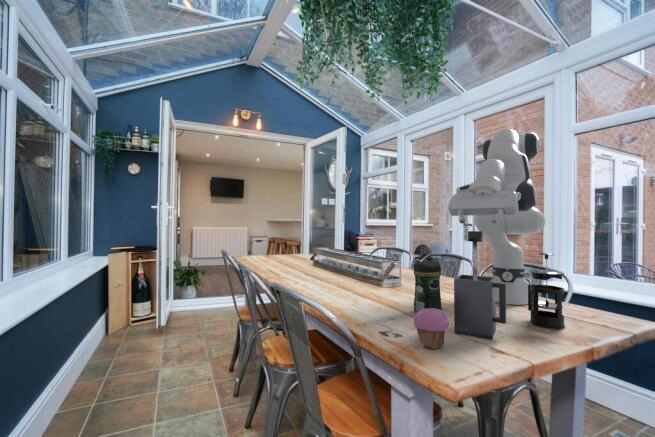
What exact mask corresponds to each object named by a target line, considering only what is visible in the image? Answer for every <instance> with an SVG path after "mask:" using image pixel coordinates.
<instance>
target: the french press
mask: <svg viewBox="0 0 655 437" xmlns="http://www.w3.org/2000/svg"><path fill="white" fill-rule="evenodd" d="M538 255H543V256H544V260H545V269H537V270H536V269H534V270H533V269H532V270H530V273H531V278H532V279H535V280H539V281H540V280H541V281H545V284H530V283H529V285H528V304H527V309H528V311H529V312H530V320H529V323H530V324H531V325H533V326H535V327H539V328H542V329H543V328H544V329H550V330H562V329H563V330H564V329H566V325H565V315H563V307H564V305H563V294H565V288H564V287H561V286H557V285H556V286H555V285H548V280H551V279H559V280H563V275H565V273H564V272H562V271H556V270H550V269H548V260H549V256H555V254H554V253H551V252H539V253H538ZM539 294H544V295H545V301H539V299H540V298H539ZM549 295H554V302H549V300H548V298H549V297H548V296H549ZM540 309H543V310H540ZM548 310H554V311H548Z"/></svg>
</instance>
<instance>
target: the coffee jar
mask: <svg viewBox="0 0 655 437" xmlns="http://www.w3.org/2000/svg"><path fill="white" fill-rule="evenodd" d="M413 275H414V280H415V282H414V284H415V286H414V298H413V310H414V312H416V313H417V312H418V311H420V310H421V309H426V308H435V309H440V310H442V308H443V306H442V299H441V298H442V297H441V287H440V286H441V285H440V280H441V275H442V269H441V264H440V262H439V261H432V260H425V261H417V262H414V264H413ZM442 311H443V310H442Z"/></svg>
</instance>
